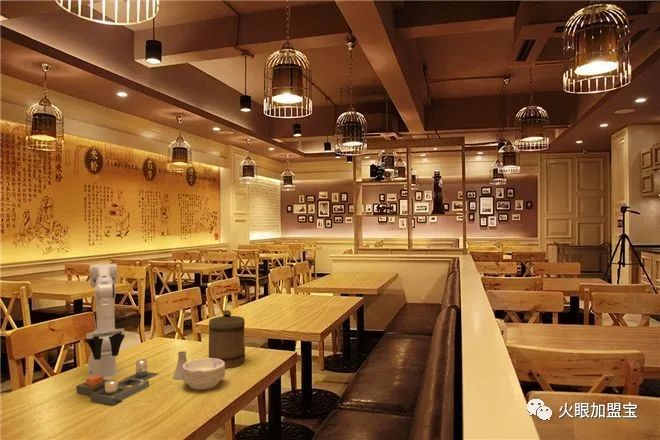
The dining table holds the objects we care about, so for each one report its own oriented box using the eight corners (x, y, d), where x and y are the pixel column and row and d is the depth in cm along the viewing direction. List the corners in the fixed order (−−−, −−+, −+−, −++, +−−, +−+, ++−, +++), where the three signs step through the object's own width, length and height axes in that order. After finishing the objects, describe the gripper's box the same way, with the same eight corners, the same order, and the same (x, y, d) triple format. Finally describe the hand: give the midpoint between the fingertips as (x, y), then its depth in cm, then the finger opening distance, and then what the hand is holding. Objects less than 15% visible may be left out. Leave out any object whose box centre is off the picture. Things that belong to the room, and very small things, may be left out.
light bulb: (102, 400, 152) (102, 382, 152) (111, 396, 156) (111, 378, 156) (111, 402, 150) (111, 384, 150) (120, 397, 154) (120, 380, 154)
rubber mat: (123, 380, 170) (123, 378, 170) (141, 372, 178) (141, 371, 178) (142, 383, 167) (142, 381, 167) (159, 375, 175) (159, 373, 175)
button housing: (76, 394, 157) (76, 385, 157) (95, 385, 165) (95, 377, 165) (93, 397, 155) (93, 388, 155) (112, 388, 162) (112, 380, 162)
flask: (186, 382, 168) (185, 355, 168) (168, 381, 169) (168, 354, 169) (195, 375, 175) (195, 349, 175) (178, 374, 176) (178, 348, 176)
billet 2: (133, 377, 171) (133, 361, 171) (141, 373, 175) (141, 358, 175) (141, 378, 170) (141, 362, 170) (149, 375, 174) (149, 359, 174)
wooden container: (252, 360, 192) (251, 309, 191) (226, 371, 179) (226, 316, 179) (227, 355, 200) (226, 305, 199) (201, 364, 187) (200, 312, 187)
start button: (86, 387, 159) (85, 378, 159) (95, 383, 162) (95, 374, 162) (94, 388, 157) (94, 379, 157) (103, 384, 161) (103, 376, 161)
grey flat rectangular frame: (90, 401, 151) (90, 394, 151) (127, 384, 166) (127, 377, 166) (113, 405, 148) (113, 398, 148) (149, 387, 163) (149, 381, 162)
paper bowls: (233, 381, 169) (233, 360, 169) (206, 396, 155) (206, 373, 155) (201, 375, 175) (201, 354, 175) (172, 389, 161) (172, 367, 161)
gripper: (97, 318, 151) (97, 360, 149) (130, 315, 165) (131, 353, 162) (81, 320, 153) (81, 361, 151) (115, 317, 167) (116, 354, 165)
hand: (106, 357), depth 157 cm, fingers open, 7 cm apart
